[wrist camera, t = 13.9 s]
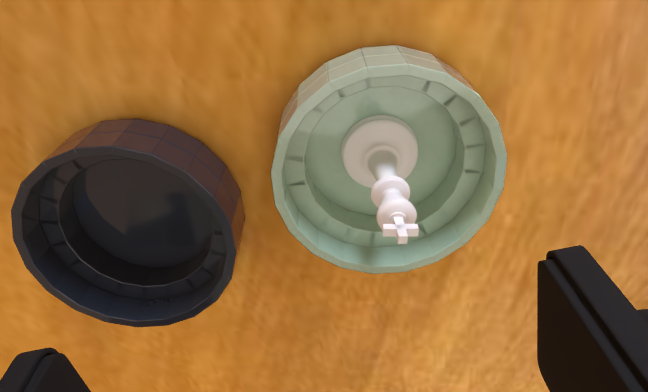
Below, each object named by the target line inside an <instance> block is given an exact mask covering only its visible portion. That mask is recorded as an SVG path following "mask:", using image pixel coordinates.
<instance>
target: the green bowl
mask: <svg viewBox="0 0 648 392" xmlns="http://www.w3.org/2000/svg"><path fill="white" fill-rule="evenodd" d="M375 115H389V116H393V117H396V118H399V119H401V120H402V121H404V122H405V123H406V124H408V125H409V126H410V128H411V129H412V130H413V132H414V134H415V136H416V138H417V142H418V159H417V163H416V165H415V167H414V169H413V171H412V172H411V173H410V175H409V176H408V177H407V178H406V179H404V180H405V181H406V182H407V184H408V185H409V188H410V197H409V200H408V201H409V202H410V203H411V204H412V205H413V206H414V207H415V209H416V213H417V217H416V221H415V223H414V224H418V227H419V233H418V236H408V241H407V244H398V243H397V239H396V237H383V234H382V229H381V228H380V227H379V225H378V223H377V218H376V216H377V211H378V207H377V206H376V205H375V204H374V203H373V201H372V199H371V190H372V188H369V187H365V186H363V185H361V184H359V183H357V182H356V181H354V180H353V179H352V178H351V177H350V176H349V174H348V173H347V171H346V169H345V167H344V165H343V162H342V159H341V146H342V142H343V139H344V137H345V135H346V134H347V132H348V131H349V130H350V128H351V127H352V126H354V125H355V124H356V123H357V122H359V121H361V120H362V119H365V118H367V117H370V116H375ZM506 163H507V153H506V149H505V144H504V140H503V136H502V132H501V128H500V124H499V122H498V121H497V119H496V118H495V116H494V115H493V114H492V112H491V111H490V109H489V108H488V107H487V105H486V104H485V102H484V101H483V99H482V98H481V97H480V95H479V94H478V93H477V92H476V91H475V90H474V89H473V87H472V86H471V85H470V84H469V83H468V82H467V81H466V80H465V79H464V78H463V76H462V75H461V74H460V73H459V72H458V71H456V70H455V69H453V68H452V67H450V66H449V65H447V64H446V63H444V62H443V61H441V60H440V59H438V58H437V57H435V56H434V55H432V54H430V53H427V52H423V51H419V50H415V49H411V48H407V47H403V46H399V45H397V46H396V45H391V46H378V47H364V48H361V49H360V48H359V49H356V50H354V51H351V52H349V53H347V54H344V55H342V56H339V57H337V58H334V59H332V60H329V61H328V62H325V63H324V64H323V65H322V66H321V67H320V68H318V69H317V70H316V71H315V72H314V73H312V74H311V75H310V76H309V77H308V78H307V79H305V80H304V81H303V82H302V83H301V84H300V85H299V86H298V88H297V90H296V91H295V93H294V94H293V96H292V98H291V99H290V101H289V103H288V104H287V106H286V108H285V109H284V111H283V113H282V117H281V121H280V126H279V131H278V135H277V140H276V145H275V150H274V156H273V161H272V167H271V180H272V187H273V194H274V201H275V206H276V207H277V209H278V211H279V213H280V215H281V217H282V219H283V221H284V223H285V224H286V226H287V228H288V230H289V232H290V233H291V234H292V235H293V236H294V237H295V238H296V239H297V240H298V241H299V242H300V243H302V244H303V245H304V246H305V247H306V248H307V249H308V250H309V251H310V252H311V253H313V254H314V255H316V256H318V257H320V258H322V259H324V260H326V261H328V262H330V263H332V264H334V265H336V266H338V267H341V268H344V269H349V270H355V271H360V272H365V273H370V274H372V273H373V274H380V273H396V272H405V271H406V272H407V271H410V270H413V269H416V268H419V267H423V266H426V265H429V264H432V263H435V262H437V261H439V260H441V259H443V258H444V257H446V256H447V255H449V254H450V253H452V252H454V251H455V250H457V249H458V248H460V247H462V246H463V245H465V244H466V243H467V242H468V241H469V240H470V239H471V238H472V237H473V236H474V235H475V234H476V233H477V232H478V230H479V229H480V228H481V227H482V226H483V225H484V224H485V223H486V222H487V221H488V219H489V217H490V215H491V213H492V211H493V209H494V207H495V205H496V203H497V201H498V199H499V197H500V195H501V193H502V191H503V187H504V179H505V171H506Z"/></svg>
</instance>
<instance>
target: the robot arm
mask: <svg viewBox="0 0 648 392" xmlns="http://www.w3.org/2000/svg"><path fill="white" fill-rule="evenodd" d="M537 358H538V365H539V368H540V372H541V374H542V377H543V379H544V381H545V383H546V385H547V387H548V389H549V391H550V392H648V309H641V310H636V309H635V308H634V307H633V305H632V304H631V303H630V302H629V301H628V299H627V298H626V297H625V296H624V295H623V293H622V292H621V291H620V290H619V288H618V287H617V286H616V285H615V284H614V282H613V281H612V280H611V279H610V278H609V276H608V275H607V274H606V273H605V271H604V270H603V269H602V268H601V267H600V265H599V264H598V263H597V262H596V261H595V259H594V258H593V257H592V256H591V254H590V253H589V252H588V251H587V250H586V249H585V248H584V247H583V246H580V245H579V246H573V247H568V248H563V249H558V250H553V251H549V252H548V253H547V256H546V260H543V261H539V263H538V330H537ZM0 392H91V391H90V390H89V388H88V387H87V385H86V384H85V383H84V381H83V380H82V378H81V377H80V376H79V374H78V373H77V371H76V370H75V368H74V367H73V366H72V364H71V363H70V361H69V360H68V358H67V357H66V356H65V355H64V354H62V353H58V352H57V351H56V350H55V349H53V348H44V349H39V350H34V351H29V352H24V353H21V354H19V355H17V356H16V358H15V359H14V360H13V361H12V363H11V365H10V366H9V368H8V369H7V371H6V372H5V374H4V376H3V377H2V379H1V380H0Z"/></svg>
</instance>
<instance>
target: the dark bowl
mask: <svg viewBox="0 0 648 392" xmlns="http://www.w3.org/2000/svg"><path fill="white" fill-rule="evenodd" d="M11 217H12V230H13V239H14V242H15V244H16V247H17V249H18V251H19V253H20V255H21V257H22V260H23V262H24V264H25V266H26V268H27V269H28V270H29V271H30V272H31V274H32V275H33V276H34V277H35V278H36V279H37V280H38V282H39V283H40V284H41V285H42V286H43V287H44V288H45V289H46V291H48V292H49V293H51V294H52V295H54V296H55V297H57V298H58V299H60V300H61V301H62V302H64V303H65V304H67V305H68V306H70V307H71V308H73V309H75V310H76V311H79V312H81V313H84V314H86V315H89V316H92V317H94V318H97V319H99V320H102V321H104V322H108V323H114V324H120V325H126V326H133V327H150V326H166V325H171V324H174V323H177V322H180V321H183V320H186V319H189V318H192V317H195V316H196V315H197V314H199V313H200V312H202V311H203V310H204V309H206V308H207V307H209V306H210V305H211V304H213V303H214V302H216V301H217V300H218V298H219V297H220V295H221V294H222V292H223V291H224V289H225V288H226V286H227V285H228V283H229V282H230V280H231V278H232V275H233V271H234V266H235V262H236V258H237V254H238V249H239V245H240V241H241V236H242V231H243V226H244V221H245V214H244V209H243V203H242V197H241V192H240V190H239V188H238V186H237V184H236V182H235V181H234V179H233V177H232V175H231V173H230V172H229V170H228V168H227V166H226V165H225V164H224V163H223V162H222V161H221V160H220V159H219V158H218V157H217V156H216V155H215V154H214V153H212V152H211V151H210V150H209V149H208V148H207V147H206V146H205V145H204V144H203V143H201V142H200V141H198V140H196V139H195V138H193V137H191V136H189V135H187V134H185V133H183V132H181V131H179V130H177V129H176V128H174V127H171V126H169V125H164V124H160V123H155V122H151V121H146V120H142V119H123V120H109V121H101V122H99V123H97V124H94V125H92V126H89V127H87V128H85V129H82V130H80V131H78V132H75V133H74V134H73V135H71V136H70V137H69V138H68V139H67V140H66V141H65V142H64V143H63V144H61V145H60V146H59V147H58V148H57V149H56V150H55V151H54V152H53V153H51V154H50V155H49V156H48V157H47V158H46V159H45V160H44V161H43V162H42V163H41V164H40V165H39V166H38V167H37V168H36V169H35V170H34V171H32V172H31V173H30V174H29V175H28V176H27V177H26V178H25V179H24V180H23V181H22V183H21V184H20V187H19V190H18V193H17V195H16V198H15V201H14V204H13V206H12V209H11Z"/></svg>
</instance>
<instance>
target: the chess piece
mask: <svg viewBox="0 0 648 392" xmlns="http://www.w3.org/2000/svg"><path fill="white" fill-rule="evenodd" d="M341 159H342V162H343V165H344V167H345V169H346V171H347V173H348V174H349V176H350V177H351V178H352V179H353V180H354V181H356V182H357V183H359V184H361V185H363V186H365V187H369V188H372V190H371V199H372V201H373V203H374V204H375V205H376V206H377V207H378V211H377V216H376V218H377V223H378V225H379V227H380V228H381V229H382V234H383V237H396V239H397V243H398V244H407V241H408V236H418V233H419V227H418V224H414V223H415V221H416V217H417V213H416V209H415V207H414V206H413V205H412V204H411V203H410V202H409V201H408V200H409V197H410V188H409V185H408V184H407V182H406V181H405V180H404V179H406V178H407V177H408V176H409V175H410V173H411V172H412V171H413V169H414V167H415V165H416V163H417V159H418V142H417V138H416V136H415V134H414V132H413V130H412V129H411V128H410V126H409V125H408V124H406V123H405V122H404V121H402V120H401V119H399V118H396V117H393V116H389V115H375V116H370V117H367V118H365V119H362V120H361V121H359V122H357V123H356V124H355V125H354V126H352V127H351V128H350V130H349V131H348V132H347V134H346V135H345V137H344V139H343V142H342V146H341Z"/></svg>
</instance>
